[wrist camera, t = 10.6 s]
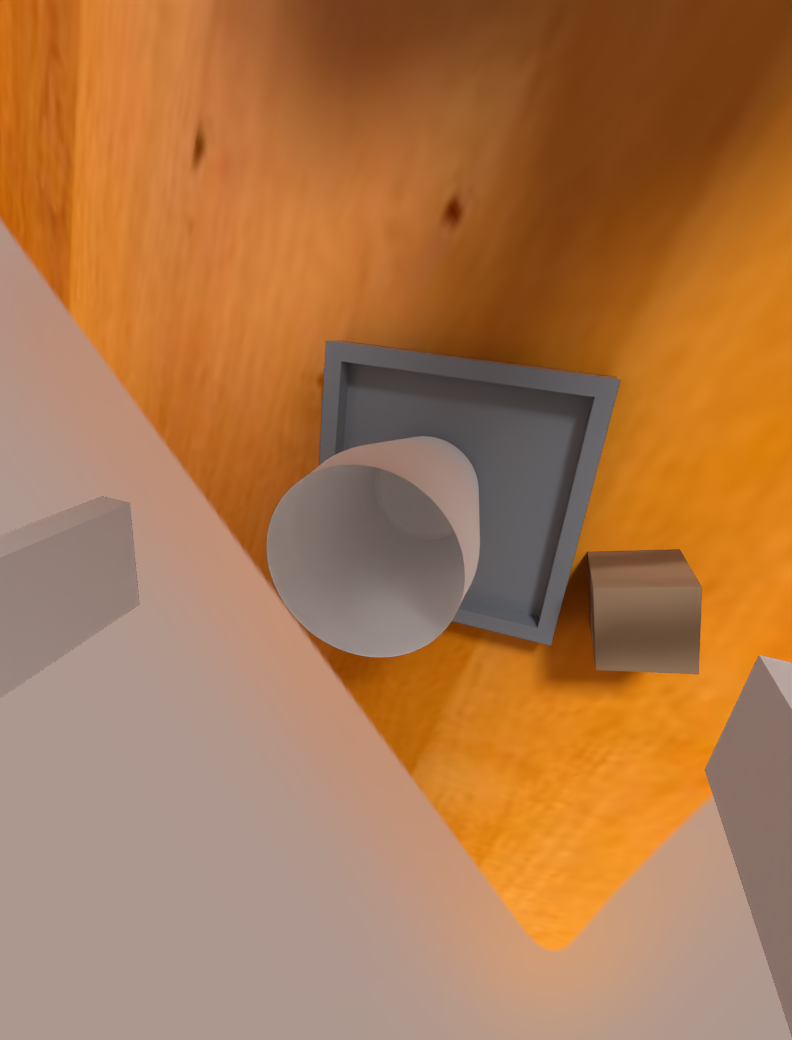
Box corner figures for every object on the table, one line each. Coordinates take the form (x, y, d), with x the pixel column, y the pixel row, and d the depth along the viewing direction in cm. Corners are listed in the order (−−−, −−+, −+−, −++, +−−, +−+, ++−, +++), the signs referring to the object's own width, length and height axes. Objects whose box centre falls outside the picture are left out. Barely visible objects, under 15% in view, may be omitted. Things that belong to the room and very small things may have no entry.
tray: (339, 340, 31) (326, 340, 29) (615, 376, 28) (620, 379, 26) (323, 574, 37) (312, 586, 35) (550, 628, 34) (550, 645, 32)
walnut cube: (587, 551, 31) (593, 587, 27) (679, 548, 30) (701, 586, 25) (589, 623, 33) (595, 670, 28) (677, 625, 31) (698, 674, 27)
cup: (392, 571, 35) (318, 678, 24) (335, 448, 33) (227, 503, 22) (521, 531, 31) (503, 635, 20) (465, 391, 30) (414, 423, 19)
